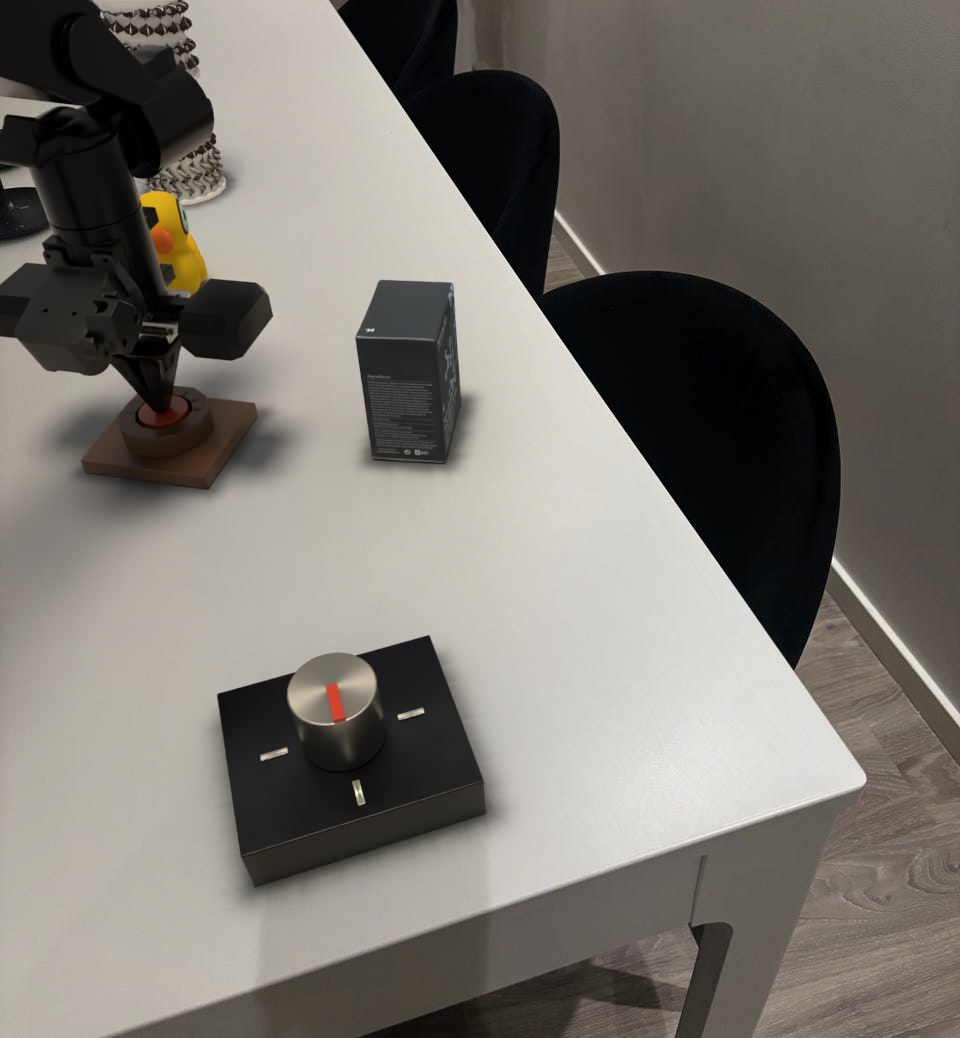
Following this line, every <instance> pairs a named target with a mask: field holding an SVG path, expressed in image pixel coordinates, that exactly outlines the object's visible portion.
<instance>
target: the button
mask: <svg viewBox="0 0 960 1038" xmlns="http://www.w3.org/2000/svg"><path fill="white" fill-rule="evenodd" d="M189 414H190V410H189V407H188V404H187V402H186V401H185V400H184V399H183V398H181V397H178V396H172V400H171V405H170V407H169V409H168V410H167V411H166V413H164V414H163V413H155V412H153V411H152V409H151V408H150V407H149V406H148V405H147V404H146V403H145V404H144V405H143V406H142V407H141V408H140V410H139V413H138V416H139V419H140V422H141V425H142V427H143V428H150V429H160V428H165V427H170V426H174V425H175V424H177V423H179V422H181V421H183V420H185V419H186V418H187V417H188V415H189Z"/></svg>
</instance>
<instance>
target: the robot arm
mask: <svg viewBox="0 0 960 1038" xmlns="http://www.w3.org/2000/svg"><path fill="white" fill-rule="evenodd" d="M95 2H96V1H95V0H0V97H4V98H11V99H21V100H27V101H34V102H35V101H37V102H44V103H45V102H46V103H53V104H61V105H58V106H54V107H52V108H50V109H48V110H46V111H44V112H42V113H40V114H38V115H37V116H27V115H26V116H25V115H18V114H11V113H7V114H5V115H4V117H3V121H2V122H3V123H2V127H1V129H0V164H2V165H8V166H14V167H21V168H27V169H28V171H29V173H30V176H31V179H32V182H33V185H34V186H35V189H36V192H37V195H38V197H39V200H40V203H41V206H42V208H43V211H44V214H45V216H46V219H47V221H48V224H49V227H50V229H51V232H52V234H51V235H49V236H48V237H47V238H46V239H44V241H42V242H41V245H42V248H43V252H42V256H43V259H44V262H45V263H35V262H24V263H23V265H21V266H20V267H19V268H18V269H16V270H15V271H14V272H13V273H11V274H10V275H9V276H7V278H6V279H5V280H3V281H2V282H0V338H9V339H10V338H11V339H16V340H17V341H18V342H19V343H20V344H21V345H22V346H23V347H24V348H25V349H26V350H27V352H28V353H29V354H30V355H31V357H33V359H34V360H35V361H36V362H37V363H38V364H39V365H40V366H41V368H42V369H44V370H45V371H47V372H50V373H57V372H66V373H76V374H80V375H82V376H87V377H94V376H99V375H101V374H102V373H104V372H105V371H106V370H108V368H109V367H110V365H111V366H112V367H113V368H114V369H115V371H117V372H118V373H119V374H120V375H121V376H122V378H123V379H124V380H125V381H126V382H127V383H128V384H129V386H130V387H131V388H132V390H134V391H135V392H136V394H137V393H138V394H139V396H140V397H141V398H142V399H143V400H144V401H145V402H146V404H147V405H148V406H149V407H150V408H151V409H152V411H153V412H155V413H163V414H164V413H166V411H167V410H168V409H169V407H170V405H171V400H172V394H173V388H174V385H175V382H176V376H177V369H178V362H179V359H180V354H181V349H182V348H184V349H185V350H186V351H187V352H188V353H189V354H191V355H192V356H193V357H194V358H200V359H209V360H218V361H227V362H232V361H235V360H239V359H241V358H243V357H244V356H245V355H246V353H247V352H248V351H249V350H250V348H251V347H252V345H253V344H254V343H255V342H256V340H257V339H258V337H259V336H260V335H261V334H262V332H263V331H264V329H266V327H267V326H268V324H269V323H270V322H271V320H272V318H273V317H274V313H273V309H272V304H271V299H270V296H269V294H268V292H267V290H266V289H265V288H264V287H263V286H262V285H260V284H259V283H257V282H255V281H246V280H245V281H243V280H232V279H220V278H209V279H207V281H206V282H205V283H204V285H202V286H201V288H199V289H198V291H197V292H196V293H195V294H194V295H193V296H191V295H190V292H189V291H183V290H172V289H167V287H168V286H169V285H170V283H171V282H172V281H173V280H174V279H175V278H176V276H175V273H174V269H173V266H172V264H161V263H159V259H158V256H157V253H156V250H155V246H154V243H153V240H152V236H151V233H150V230H151V229H152V228H153V227H154V226H155V225H156V224H157V223H159V218H158V215H157V212H156V208H155V207H145V206H142V203H141V200H140V193H139V190H138V186H137V184H136V180H135V179H139V180H145V179H148V178H152V177H154V176H156V175H158V174H159V173H161V172H162V171H164V170H165V169H167V168H168V167H170V166H171V165H172V164H174V163H175V162H177V161H178V160H180V159H181V158H183V157H184V156H186V155H187V154H189V153H190V152H192V151H193V150H195V149H196V148H198V147H199V146H201V145H202V144H204V143H205V142H206V141H207V140H208V139H209V138H210V136H211V134H212V133H213V131H214V128H215V112H214V107H213V103H212V101H211V99H210V98H209V97H207V95H206V93H205V91H204V89H203V88H202V87H201V85H200V84H199V81H198V80H197V81H196V80H195V79H194V78H193V77H192V76H191V75H190V74H189V73H188V72H187V71H186V70H184V69H183V68H181V67H180V66H178V65H177V64H176V60H175V56H174V52H173V49H172V48H171V47H169V46H158V45H145V46H143V47H141V48H139V49H137V50H136V51H135V52H134V53H133V54H132V53H131V52H130V51H129V50H128V49H127V48H126V47H125V46H124V45H123V44H122V43H121V41H120V40H119V39H118V38H117V37H116V36H115V35H114V34H113V33H112V32H111V31H110V30H109V29H108V28H107V27H106V26H105V23H104V21H103V20H102V19H103V17H102V15H101V16H100V14H101V13H102V12H101V11H100V8H99V7H98V5H97V4H96V3H95ZM67 105H71V106H67ZM72 106H79V107H78V108H76V107H72ZM149 229H150V230H149Z"/></svg>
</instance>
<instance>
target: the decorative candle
mask: <svg viewBox="0 0 960 1038" xmlns="http://www.w3.org/2000/svg"><path fill="white" fill-rule="evenodd" d="M94 2H95V3H96V4H97V5H98V7H99V8H100V11H101V13H102V15H101V13H100V16H101V17H102V16H103V17H102V20H103V21H104V23H105V26H106V27H107V28H108V29H109V30H110V31H111V32H112V33H113V34H114V35H115V36H116V37H117V38H118V39H119V40H120V41H121V43H122V44H123V45H124V46H125V47H126V48H127V49H128V50H129V51H130V52H131V53H132V54H133V53H134V52H135V51H136V50H137V49H139V48H141V47H143V46H145V45H158V46H169V47H171V48H172V49H173V52H174V56H175V60H176V64H177V65H178V66H180V67H181V68H183V69H184V70H186V71H187V72H188V73H189V74H190V75H191V76H192V77H193V78H194V79H195V80H196V81H197V82H198V80H199V79H200V78H201V69H200V67H198V65H199V64H200V59H199V57H198V56H197V55H195V54H192V53H193V50H195V49H196V48H197V43H196V42H195V41H194V40H193V39H192V38H189V37H187V34H186V33H188V31H189V29H191V27H193V22H192V20H191V18H189V17H186V16H185V15H184V14H185V13H186V12H187V11H188V10H189V7H190V6H189V3H188V2H186V1H185V0H94ZM216 144H217V134H216V133H214V132H212V134H211V136H210V138H209V139H208V140H207V141H206V142H205V143H204V144H202V145H201V146H199V147H198V148H196V149H195V150H193V151H192V152H190V153H189V154H187V155H186V156H184V157H183V158H181V159H180V160H178V161H177V162H175V163H174V164H172V165H171V166H170V167H168V168H167V169H165V170H164V171H162V172H161V173H159V174H158V175H156V176H154V177H152V178H148V179H144V183H145V185H146V186H147V188H148V189H149V192H152V191H163V192H167V193H170V194H172V195H173V196H175V197H176V198H177V199H178V200H179V201H180V203H181V204H182V206H183V207H184V206H191V205H197V204H200V203H203V202H207V201H210V200H211V199H213V198H215V197H217V196H219V195H221V194H222V192H224V190H225V189H226V188H227V178H226V177H225V176H224V173H225V171H224V169H223V168H224V164H223V163H222V162H220V161H221V160H222V156H221V151H220V149H219V148H217V147H216V146H215V145H216Z"/></svg>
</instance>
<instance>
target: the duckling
mask: <svg viewBox="0 0 960 1038" xmlns="http://www.w3.org/2000/svg"><path fill="white" fill-rule="evenodd" d="M139 197H140V200H141V203H142V206H145V207H155V208H156V212H157V215H158V218H159V223H157V224H156V225H155V226H154V227H153V228H152V229H151V230H150V229H149V230H150V233H151V236H152V240H153V243H154V246H155V250H156V253H157V256H158V259H159V263H161V264H172V266H173V269H174V273H175V276H176V278H175V279H174V280H173V281H172V282H171V283H170V285H169V286H168V287H167V289H172V290H183V291H189V292H190V295H191V297H193V296H195V295H196V294H197V293H198V291H199V290H200V287H201V284H202V283H203V282H205V281H206V280H207V277H208V270H207V266H206V263H205V260H204V257H203V256H202V254H201V251H200V249H199V247H198V245H197V242H196V240H195V239H194V237H193V236H192V234H191V233H190V232H189V230H190V229H189V219H188V216H187V213H186V210H185V208H184V206H182V204H181V203H180V201H179V200H178V199H177V198H176V197H175V196H173V195H172V194H170V193H167V192H163V191H152V192H150V191H149V192H145V193H143V194H141V195H139Z"/></svg>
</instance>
